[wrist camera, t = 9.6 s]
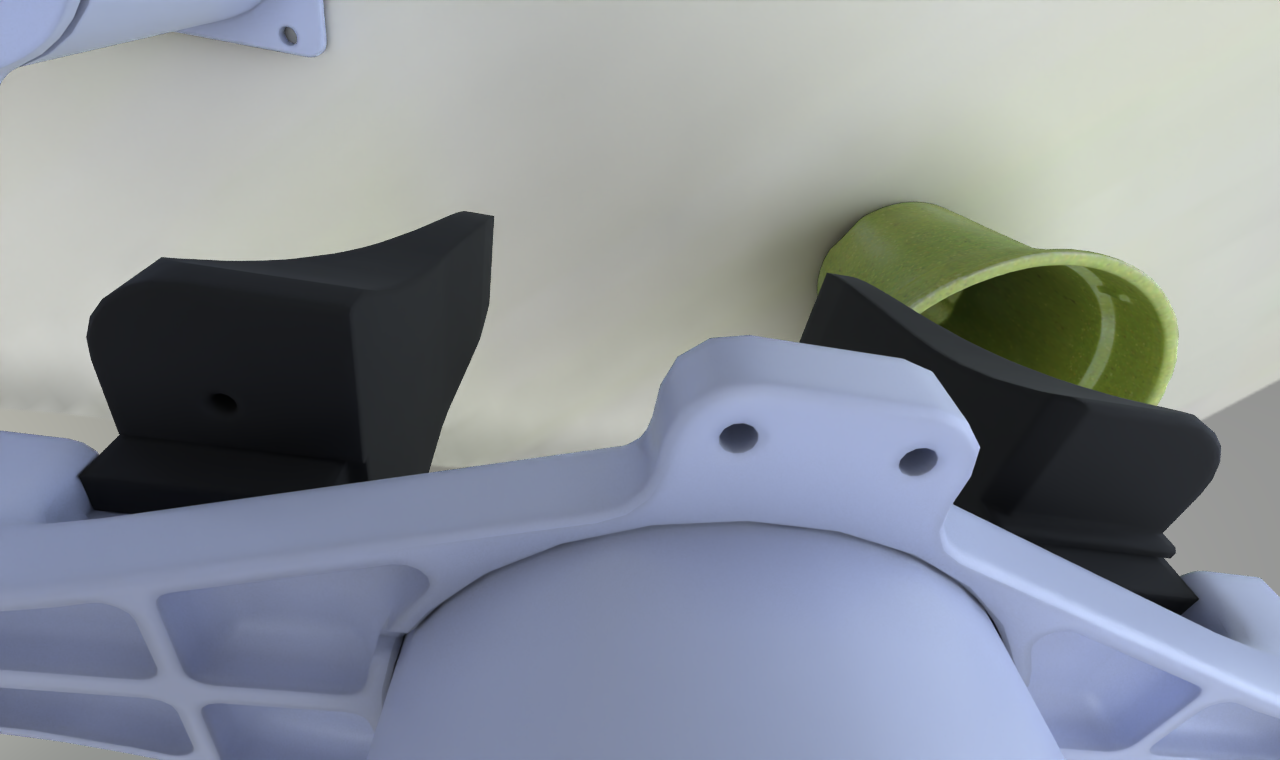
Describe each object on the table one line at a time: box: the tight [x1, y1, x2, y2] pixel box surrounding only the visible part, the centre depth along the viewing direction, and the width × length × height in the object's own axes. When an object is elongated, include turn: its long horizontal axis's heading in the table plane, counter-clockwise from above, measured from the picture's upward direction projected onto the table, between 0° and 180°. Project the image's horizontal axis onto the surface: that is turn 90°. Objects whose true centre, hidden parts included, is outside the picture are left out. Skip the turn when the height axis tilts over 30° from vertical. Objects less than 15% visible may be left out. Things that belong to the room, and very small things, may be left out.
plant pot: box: [817, 202, 1179, 406], centre depth 22 cm, size 9×9×9 cm
